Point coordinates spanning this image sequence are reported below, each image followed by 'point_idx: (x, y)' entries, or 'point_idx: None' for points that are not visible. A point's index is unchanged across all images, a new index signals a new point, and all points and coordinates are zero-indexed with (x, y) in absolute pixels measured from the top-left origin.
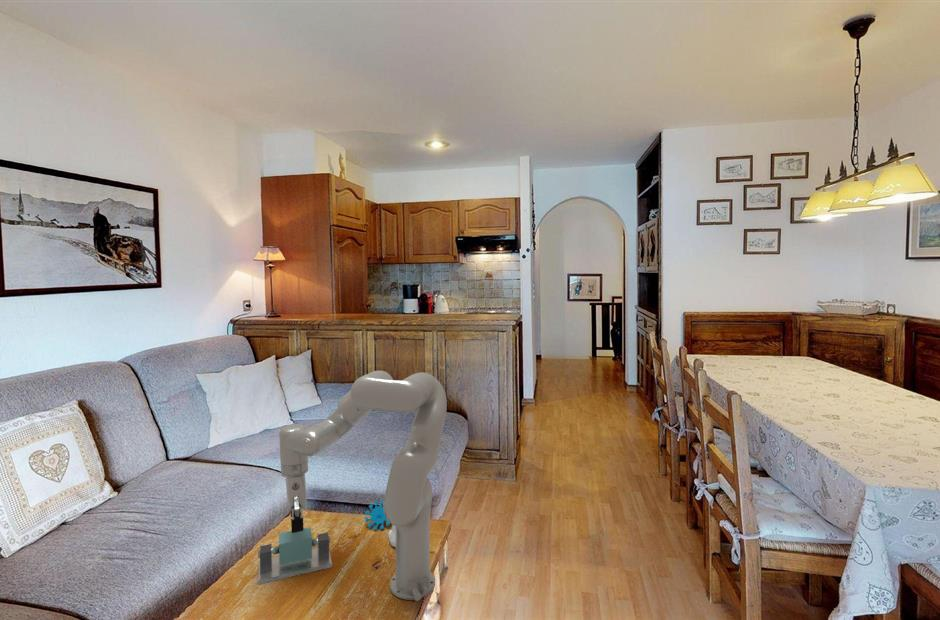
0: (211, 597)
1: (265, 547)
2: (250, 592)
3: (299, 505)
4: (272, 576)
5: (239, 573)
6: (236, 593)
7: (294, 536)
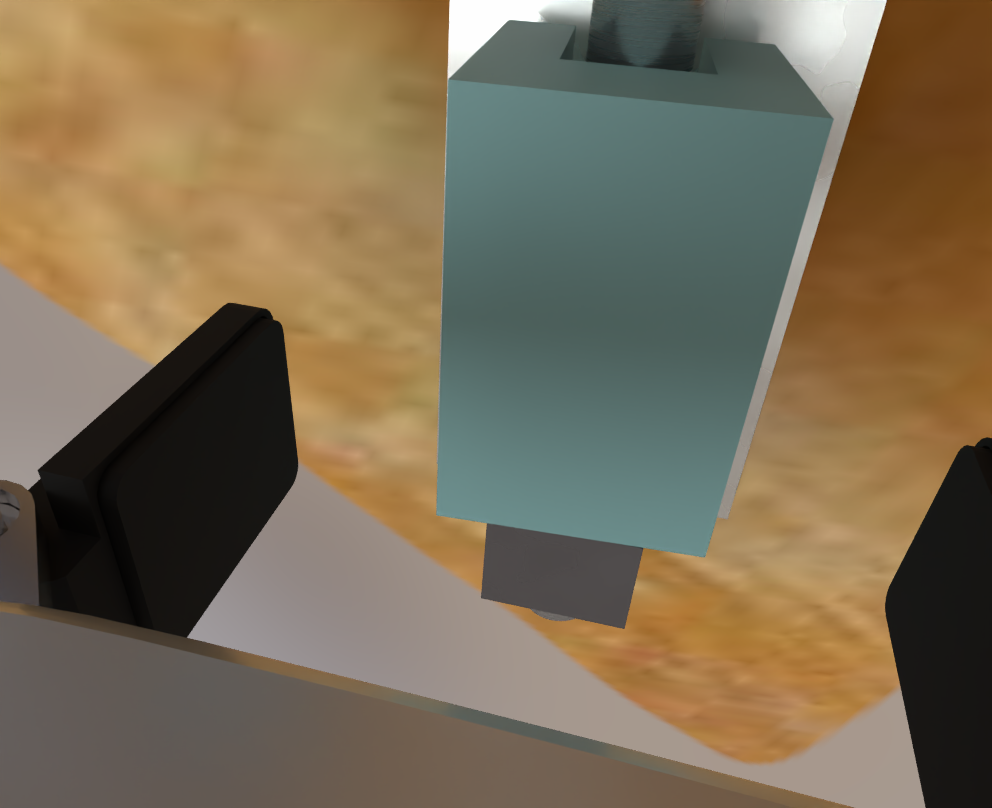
0: (682, 702)
1: (533, 572)
2: (790, 547)
3: (153, 484)
4: (743, 426)
5: None
6: (736, 609)
7: (622, 371)
